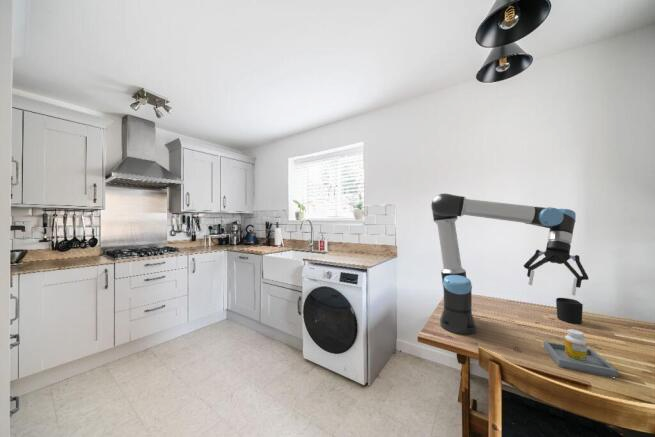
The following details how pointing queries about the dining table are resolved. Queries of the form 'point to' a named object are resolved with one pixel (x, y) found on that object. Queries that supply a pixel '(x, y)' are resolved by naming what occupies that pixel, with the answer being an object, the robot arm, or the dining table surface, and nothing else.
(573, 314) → the pen holder
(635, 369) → the dining table surface
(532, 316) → the dining table surface
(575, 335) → the supplement bottle
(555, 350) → the tray
